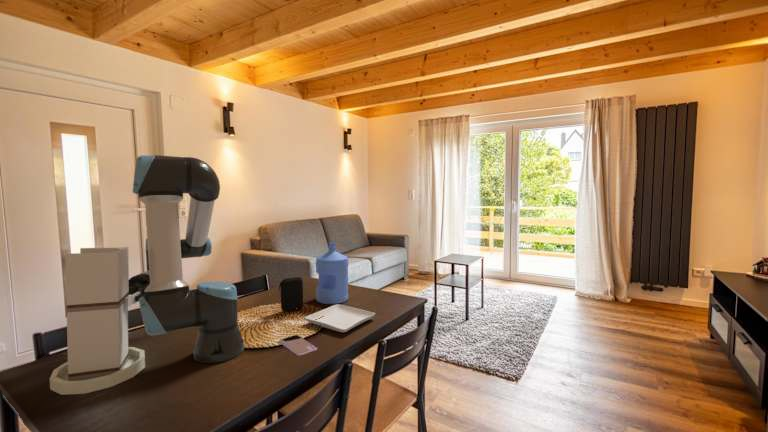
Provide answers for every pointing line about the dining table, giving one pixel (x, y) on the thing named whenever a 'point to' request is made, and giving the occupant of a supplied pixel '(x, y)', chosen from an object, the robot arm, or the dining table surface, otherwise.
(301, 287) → the black rounded block
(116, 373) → the round tray
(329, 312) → the salad plate
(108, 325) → the tall seamed cream box
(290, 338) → the mobile phone
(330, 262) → the water jug
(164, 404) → the dining table surface
